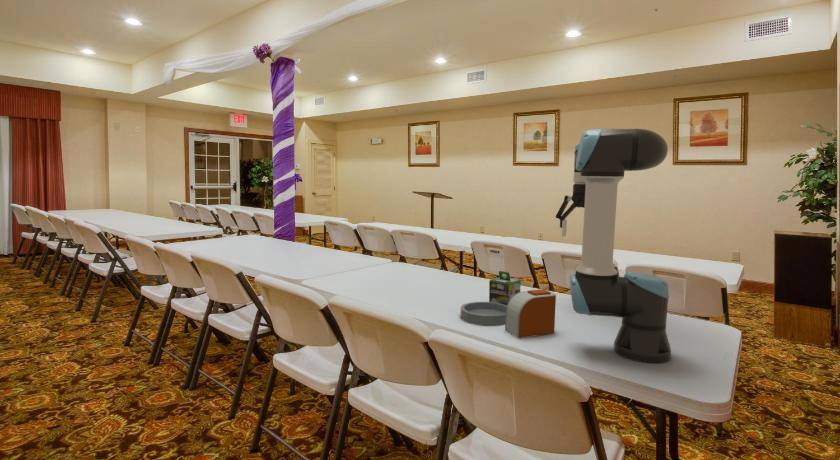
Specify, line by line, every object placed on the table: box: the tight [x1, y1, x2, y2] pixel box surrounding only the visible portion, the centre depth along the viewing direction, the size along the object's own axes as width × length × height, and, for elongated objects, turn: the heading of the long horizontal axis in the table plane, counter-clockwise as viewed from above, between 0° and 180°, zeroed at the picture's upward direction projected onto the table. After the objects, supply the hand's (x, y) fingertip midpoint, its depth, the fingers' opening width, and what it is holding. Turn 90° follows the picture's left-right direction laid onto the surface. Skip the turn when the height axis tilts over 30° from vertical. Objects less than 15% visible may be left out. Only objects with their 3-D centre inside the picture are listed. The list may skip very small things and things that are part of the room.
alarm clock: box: [504, 288, 557, 339], centre depth 154 cm, size 15×8×14 cm, turn 111°
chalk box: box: [488, 270, 521, 305], centre depth 181 cm, size 9×9×15 cm
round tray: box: [459, 301, 507, 327], centre depth 169 cm, size 18×18×3 cm
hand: (580, 237), depth 183 cm, fingers open, 13 cm apart
